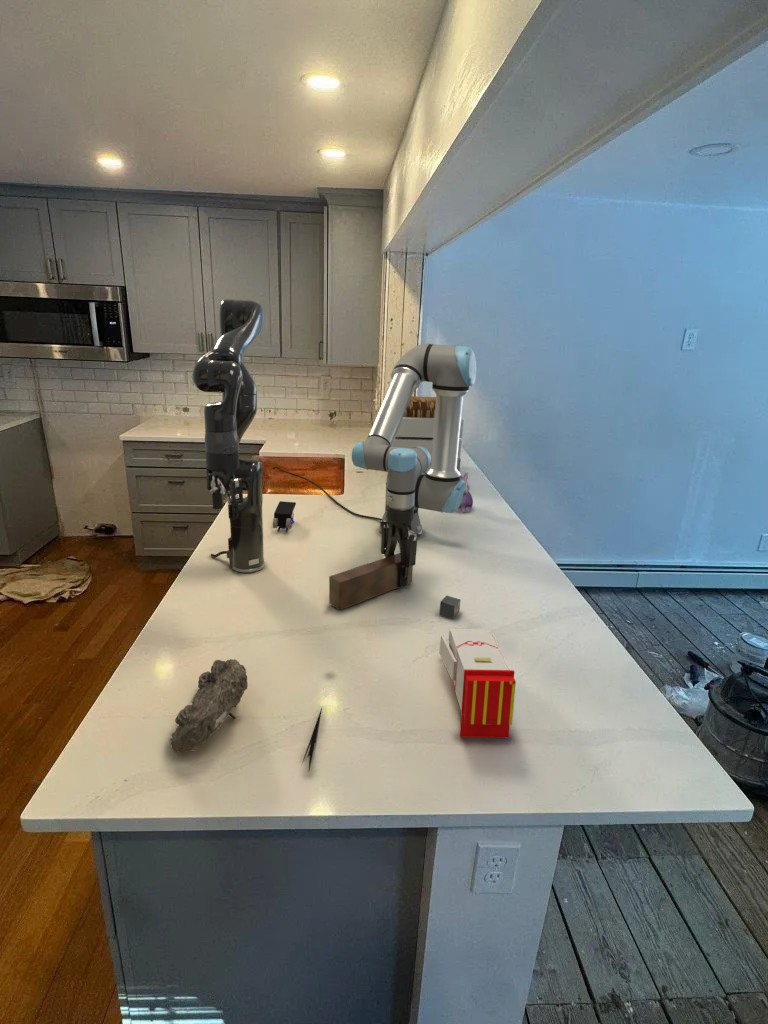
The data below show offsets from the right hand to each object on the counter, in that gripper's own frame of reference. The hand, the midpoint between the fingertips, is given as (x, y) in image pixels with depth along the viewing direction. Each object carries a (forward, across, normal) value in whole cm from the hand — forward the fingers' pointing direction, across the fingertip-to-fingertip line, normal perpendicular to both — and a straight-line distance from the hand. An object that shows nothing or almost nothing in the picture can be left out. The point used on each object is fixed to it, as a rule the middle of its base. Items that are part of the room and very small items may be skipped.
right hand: (396, 582), depth 162 cm
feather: (0, +33, -49) cm, 59 cm away
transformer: (+3, -82, +88) cm, 120 cm away
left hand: (-25, -16, -43) cm, 52 cm away
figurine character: (+1, -57, -2) cm, 57 cm away
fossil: (0, +20, -64) cm, 67 cm away
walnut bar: (0, 0, -9) cm, 9 cm away
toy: (+1, +45, -19) cm, 49 cm away
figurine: (+2, -34, +66) cm, 74 cm away
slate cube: (+1, +20, +1) cm, 20 cm away
